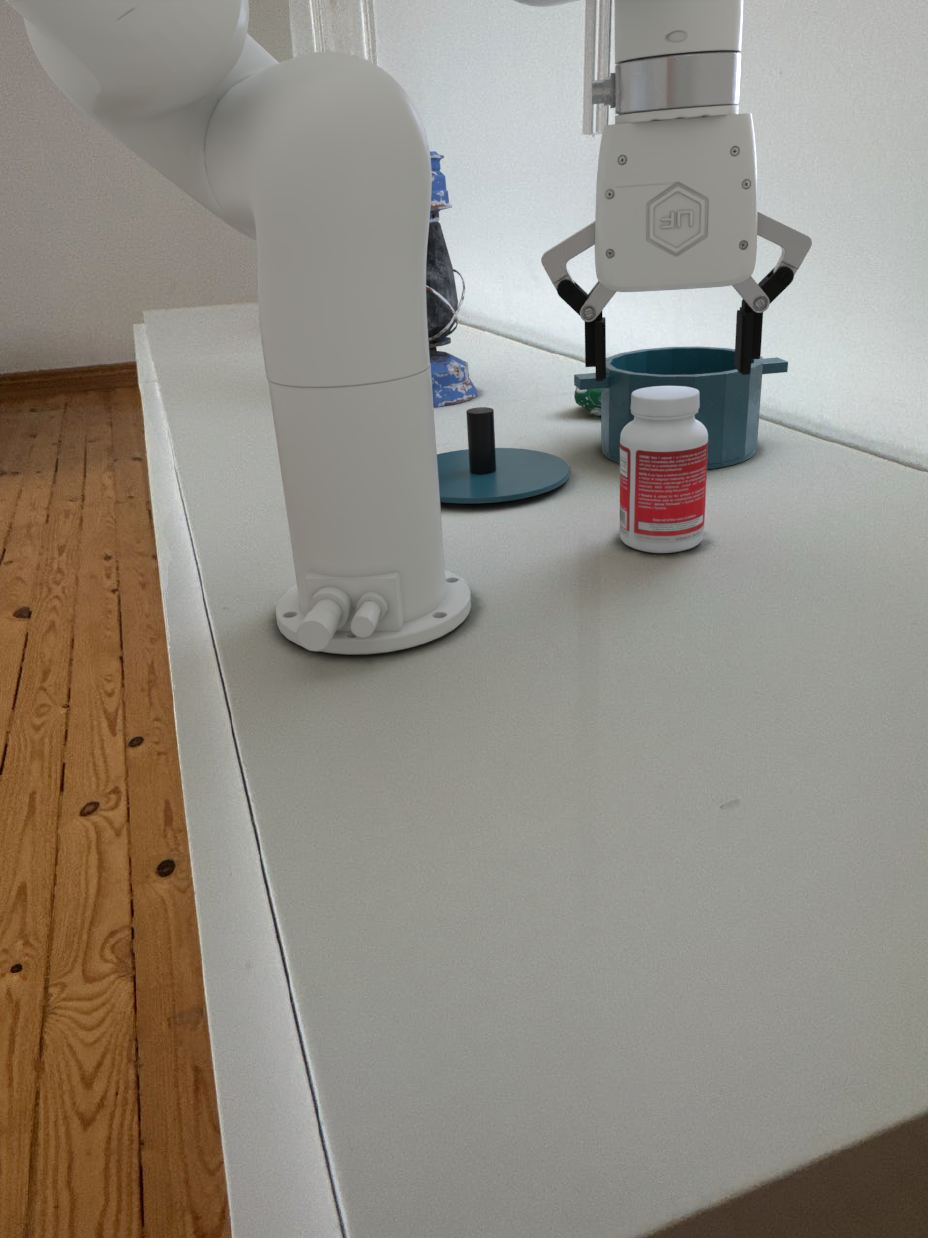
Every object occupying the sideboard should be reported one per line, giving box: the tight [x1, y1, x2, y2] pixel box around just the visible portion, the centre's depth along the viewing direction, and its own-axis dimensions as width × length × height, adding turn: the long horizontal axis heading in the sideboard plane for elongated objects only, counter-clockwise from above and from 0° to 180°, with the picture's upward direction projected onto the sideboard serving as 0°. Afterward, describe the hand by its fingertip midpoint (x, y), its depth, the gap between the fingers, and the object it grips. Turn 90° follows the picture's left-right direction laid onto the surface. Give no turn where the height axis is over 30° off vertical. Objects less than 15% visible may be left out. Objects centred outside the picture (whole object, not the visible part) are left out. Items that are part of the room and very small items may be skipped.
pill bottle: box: [619, 386, 708, 554], centre depth 70 cm, size 6×6×11 cm
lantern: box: [426, 150, 478, 408], centre depth 116 cm, size 15×12×30 cm
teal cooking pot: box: [573, 346, 789, 470], centre depth 92 cm, size 15×20×8 cm
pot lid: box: [437, 406, 571, 505], centre depth 86 cm, size 16×16×7 cm
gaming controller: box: [573, 386, 601, 416], centre depth 107 cm, size 9×4×6 cm
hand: (670, 373), depth 67 cm, fingers open, 9 cm apart
